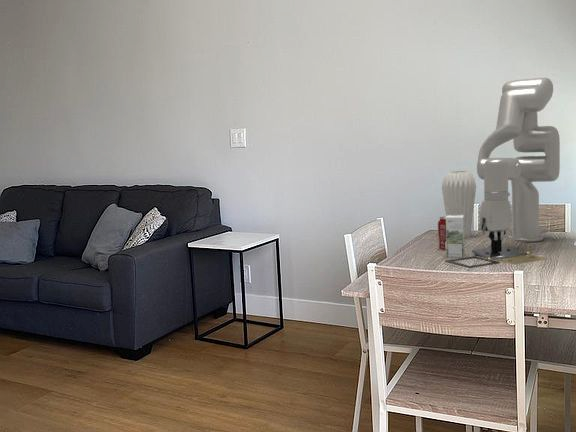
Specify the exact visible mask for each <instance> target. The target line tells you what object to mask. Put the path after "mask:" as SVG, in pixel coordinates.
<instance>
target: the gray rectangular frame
mask: <svg viewBox="0 0 576 432" xmlns="http://www.w3.org/2000/svg"><path fill="white" fill-rule="evenodd" d="M470 259H471V260H472V259H477V260H481V261H485V262H486V263H479V264H475V265H474V264H473V265H468V264H466V263H465V264H464V263H460V262H459V261H465V260H470ZM445 263H446V265H447V266H449V264H452V265H450V266H451V267H453V268H454V267H455V268H459V269H460V267H462V268H461V269H463V270H464V268H465V270H467V271H469V272H470V271H471V270H470V269H472V268H479V267H484V266H485V267H486V266H491V265H498V264H501V261H497V260H489V259H486V258H484V257H481V256H478V255H477V256H475V255H473V256H464V257H457V258H454V259H446V260H445ZM455 265H456V266H455ZM463 267H464V268H463ZM466 268H468V269H466Z"/></svg>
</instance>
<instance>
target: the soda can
mask: <svg viewBox="0 0 576 432" xmlns="http://www.w3.org/2000/svg"><path fill="white" fill-rule="evenodd" d="M437 243H438V245H437V247H438V248H437V250H441V251H447V250H446V216H440V217H439V220H438V221H437Z"/></svg>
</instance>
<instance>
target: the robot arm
mask: <svg viewBox="0 0 576 432" xmlns="http://www.w3.org/2000/svg"><path fill="white" fill-rule="evenodd" d="M553 84H554V83H553V81H552V79H550V78H548V77H536V78H524V79H516V80H510V81H506V82H505V83H504V84H503V85H502V87H501V92H502V94H501V96H500V100H499V101H500V102H499V106H498V114H497V120H496V127H495V129H494V131H493V132H492V133H490V134H489V135H488V136H487V138H485V140H484V142H483V143H482V145H481V146H480V149H479V151H478V156H477V163H476V173H477V177H478V178H479V179H481V180H483V184H484V185H483V186H484V187H483V190H484V193H483V194H484V199H483V200H482V202H481V206H480V210H479V211H480V212H479V230H480V231H482V232H481V233H482V235H483V236H486V237H488V238H489V240H490V247H491V251H493V252H501V251H502V246H503V245H502V242H503V240H504V237H505V235H507V234H509V233H510V232H511V233H512V234H509V235H508V236H507V239H508V240H510V241H515V242H516V241H517V242H521V243H533V242H539V241H540V242H541V241H543V240H544V236H543V235H542V234H543V233H545V234H546V233H548V232H549V228H548V227H541V226H540V219H539V218H540V207H539V206H540V204H539V203H540V195H539V194H540V193H539V190H538V189H537V187H536V186H535V185H534V184H533V183H534V182H536V183H537V182H539V183H540V182H543V183H545V182H546V183H547V182H554V181H556V180H558V179H559V177H560V176H559V175H560V171H561V170H560V169H561V167H560V166H561V164H560V162H561V161H560V157H561V156H560V155H561V154H560V153H561V149H560V148H561V147H560V146H561V145H560V143H561V142H560V139H561V138H560V134H559V130H558V129H557V128H556V127H555V126H553V125H541V126H540V125H538V112H541V111H543V110H544V109H545V107H546V106H547V104H549V102H550V101H551V99H552V97H553V93H554V85H553ZM511 140H512V141H513V142H512V143H513V148H514V150H515V152H518V153H526V154H527V153H544V154H545V155H524V156H523V155H522V156H517V157H491V155H492V152H493V151H495V149H497V148H498V147H500V146H501V145H503V144H505V143H507V142H509V141H511ZM509 181H510V182H511V192H509ZM510 193H511V194H510ZM510 195H511V202H510V200H509V197H510ZM511 229H512V230H511Z"/></svg>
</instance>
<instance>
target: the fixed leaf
mask: <svg viewBox="0 0 576 432" xmlns="http://www.w3.org/2000/svg"><path fill="white" fill-rule="evenodd" d="M525 252H526V253H527V254H526V255H520V256H513V257H507V258H500V259H494V261H498V262H500V263H501V262H502V263H507V264H509V265H514V266H515V265H519V264H526V263H533V262H538V261H546V260H549V258H548V257H542V256H538V255H533V254H532V251H531V250H530V251H525ZM485 259H489V260H493V258H492V257H490V258H485Z"/></svg>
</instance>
